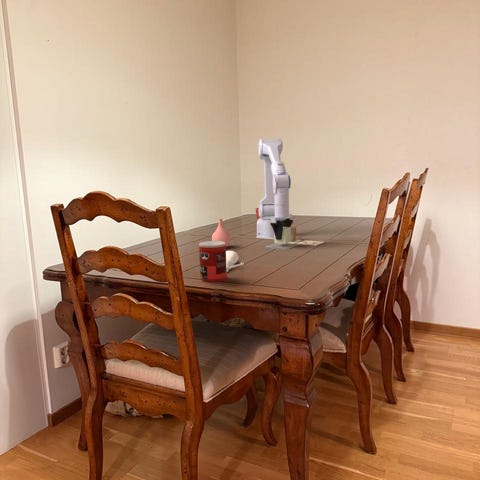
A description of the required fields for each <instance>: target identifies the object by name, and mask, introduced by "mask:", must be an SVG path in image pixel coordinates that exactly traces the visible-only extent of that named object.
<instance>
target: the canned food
mask: <svg viewBox="0 0 480 480" xmlns="http://www.w3.org/2000/svg"><path fill="white" fill-rule="evenodd" d="M226 251H227V246H226V243H225V242H222V241H212V240H207V241H206V240H205V241H201V242H199V243H198V257H199V260H198V261H199V277H200V280H201V281H203V282H207V283H216V282H222V281H226V279H227V274H228V272H227V270H226Z"/></svg>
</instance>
